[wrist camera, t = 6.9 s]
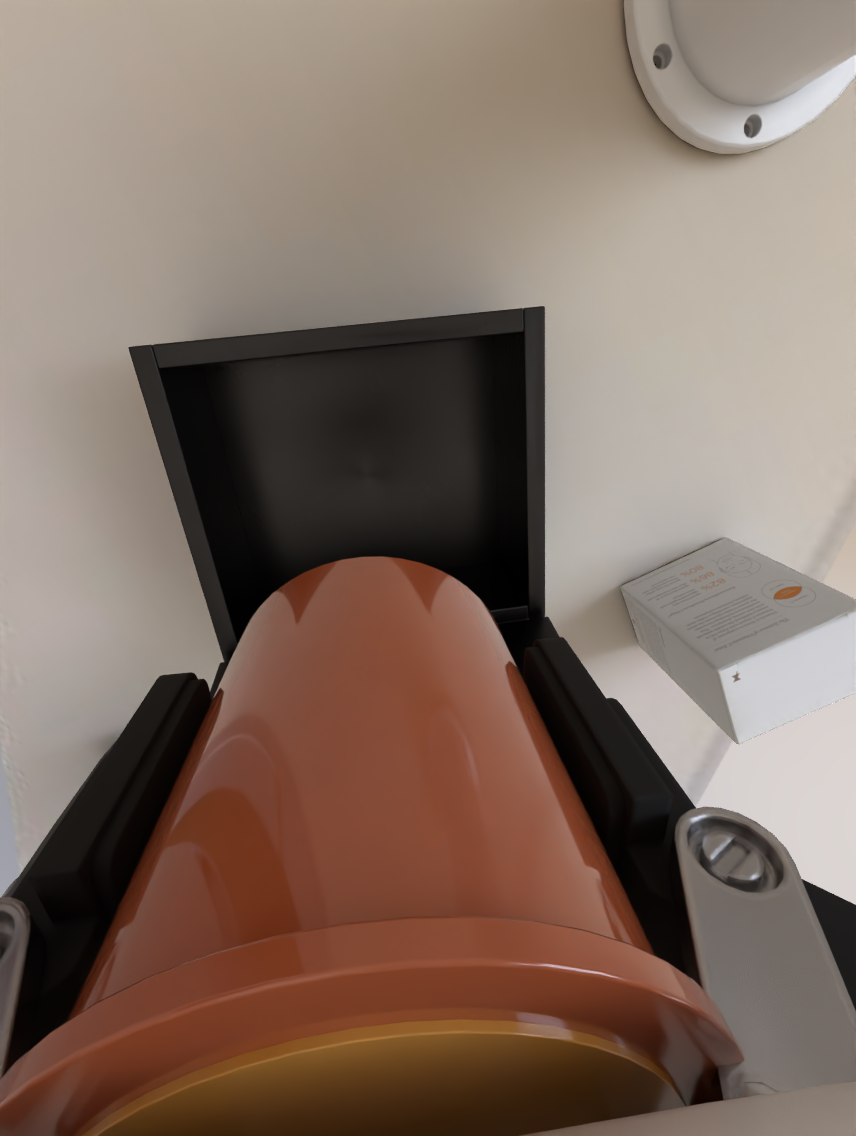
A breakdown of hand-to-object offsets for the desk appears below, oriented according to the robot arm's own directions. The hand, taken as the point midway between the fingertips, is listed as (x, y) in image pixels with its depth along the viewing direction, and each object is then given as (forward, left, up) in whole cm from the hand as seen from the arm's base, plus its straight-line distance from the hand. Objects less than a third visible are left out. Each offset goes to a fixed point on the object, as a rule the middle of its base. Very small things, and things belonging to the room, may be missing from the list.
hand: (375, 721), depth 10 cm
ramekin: (0, 0, -1) cm, 1 cm away
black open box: (0, 0, -21) cm, 21 cm away
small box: (+11, +20, -22) cm, 32 cm away
